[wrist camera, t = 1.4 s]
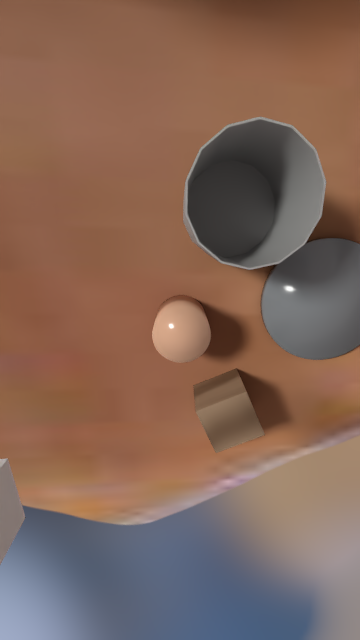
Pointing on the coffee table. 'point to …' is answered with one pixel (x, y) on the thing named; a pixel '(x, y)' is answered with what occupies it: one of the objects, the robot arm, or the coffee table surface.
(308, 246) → the coaster
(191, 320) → the peach capsule shape
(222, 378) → the walnut block
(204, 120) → the coffee table surface
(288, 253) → the cup
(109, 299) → the coffee table surface
